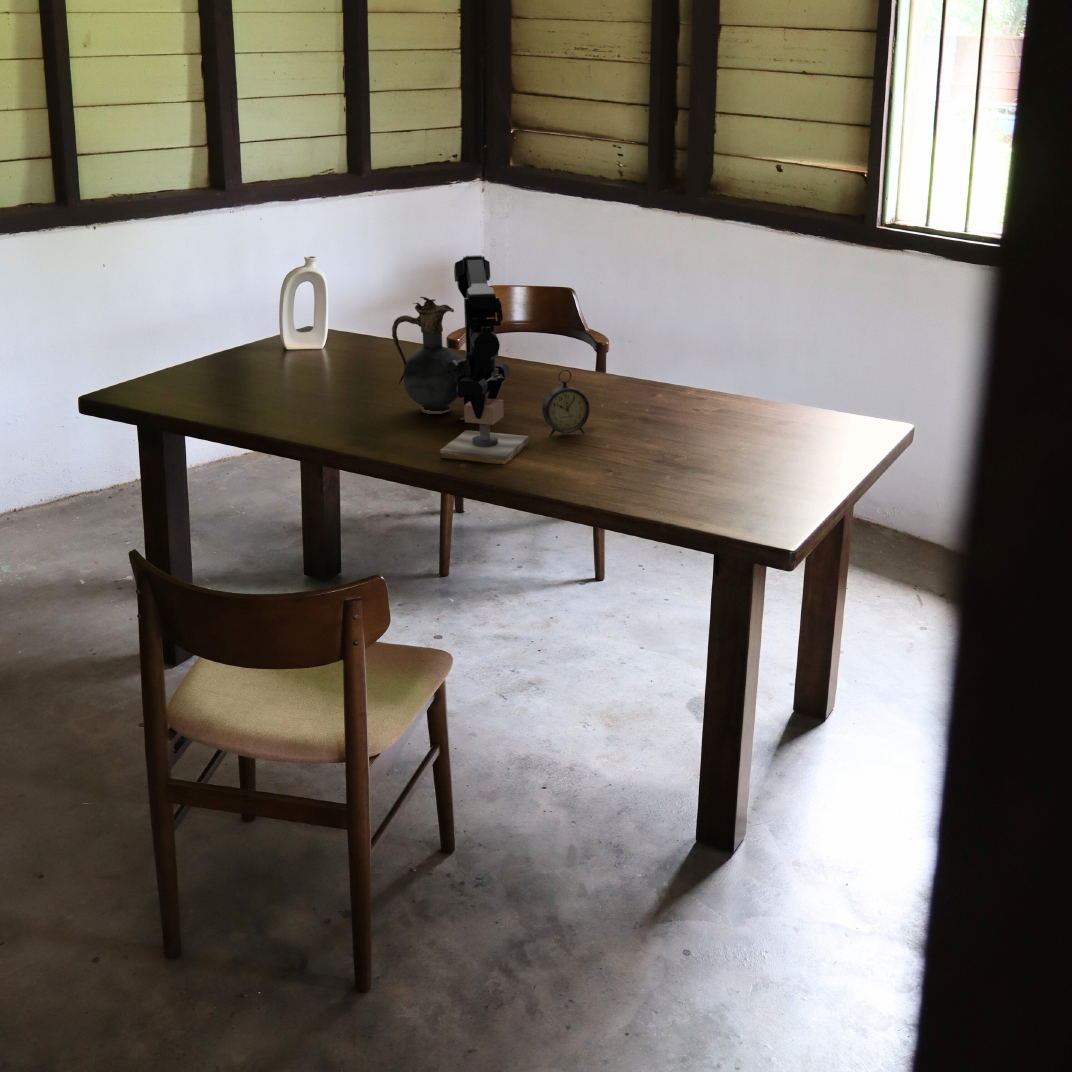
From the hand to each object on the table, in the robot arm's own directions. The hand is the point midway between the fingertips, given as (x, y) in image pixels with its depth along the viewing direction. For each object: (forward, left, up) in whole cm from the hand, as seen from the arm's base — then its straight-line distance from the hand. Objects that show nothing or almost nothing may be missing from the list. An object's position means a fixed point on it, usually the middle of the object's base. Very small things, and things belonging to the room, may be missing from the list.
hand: (484, 414), depth 274 cm
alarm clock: (-18, +14, -9) cm, 25 cm away
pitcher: (-27, -26, -9) cm, 39 cm away
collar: (0, 0, -1) cm, 1 cm away
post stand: (0, 0, -9) cm, 9 cm away
